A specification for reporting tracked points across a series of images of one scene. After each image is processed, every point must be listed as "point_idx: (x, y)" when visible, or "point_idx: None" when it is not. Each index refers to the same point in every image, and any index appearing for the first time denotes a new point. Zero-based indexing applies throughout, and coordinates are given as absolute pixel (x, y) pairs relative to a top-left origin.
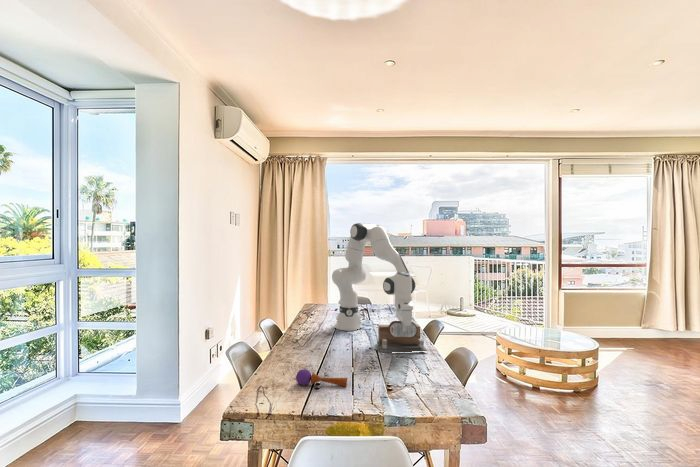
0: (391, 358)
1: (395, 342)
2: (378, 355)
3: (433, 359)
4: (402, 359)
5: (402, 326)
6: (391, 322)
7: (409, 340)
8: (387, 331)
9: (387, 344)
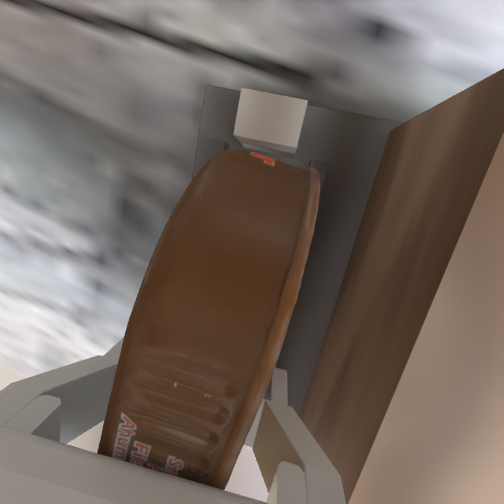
0: (108, 129)
1: (349, 273)
2: (181, 48)
3: (71, 363)
4: (84, 196)
5: (58, 371)
6: (299, 250)
7: (318, 385)
8: (424, 212)
9: None
